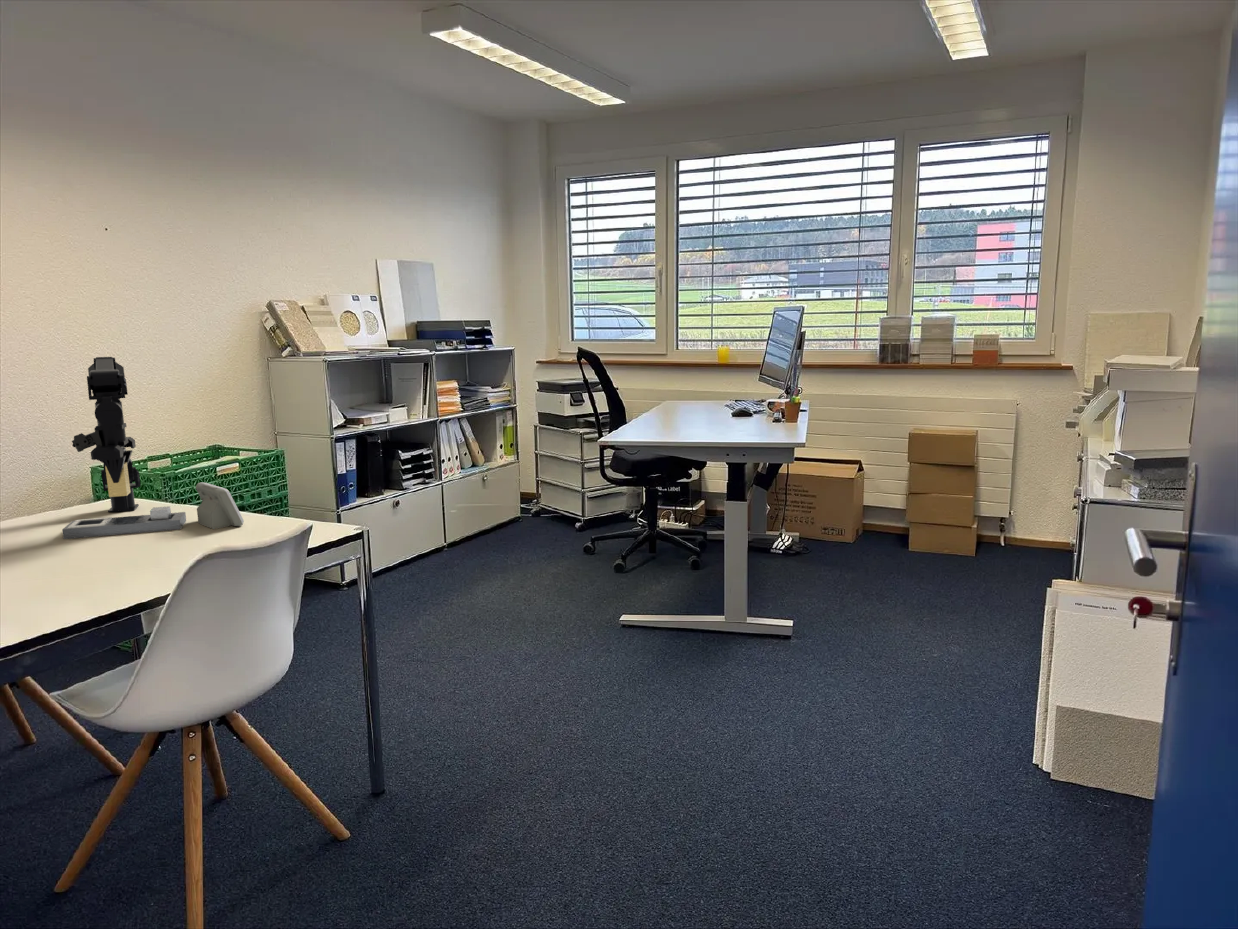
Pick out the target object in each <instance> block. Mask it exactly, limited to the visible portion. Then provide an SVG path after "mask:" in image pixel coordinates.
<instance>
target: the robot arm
mask: <svg viewBox="0 0 1238 929" xmlns="http://www.w3.org/2000/svg"><path fill="white" fill-rule="evenodd" d="M87 372H88V375H87V376H86V382H87V384H86V385H87V391H88V392H87V393H88V400H89V401H94V400H95V402H94V407H95V408H94V409H95V410H94V417H95V419H96V423H97V425H96V426H95V427H94V431H93V432H90V433H87V434H84V433H82V432H81V433H79V434H76V435H74V436H73V440H71V443H72V447H73V448H75V449H76V451H77V452H78V453H80V452H83V451H85V450H86V449H89V448H91V447H93V446H96V447H94V448H93V449H92V450H91V451H90V458H91V460H93V461H100V463H102V465H103V466H102V467H103V469H101V470H100V472H101V473H100V475H101V481H102V487H103V492H108V484H107V476H106V469H105V466H106V467H107V469H108V472H109V474H110V476H111V478H112V481H113V483H118V482H119V480H120V476H121V472H122V469H123V465H124V462H127V467H128V475H129V484H130V493H129V494H128V495H127V496H116V497H109V498H110V504H111V506H110V508H109V509H108V510H107V513H116V512H119V513H120V512H130V511H132V512H133V511H135V510H136V509H137V508H138V507H139V504H138V503H135V501H136V500H135V494H134V489H138V488H140V487H142V486H141V477H140V471H139V470H138V469H137V467H136V466H133V461H132V459H131V456H132V453H133V449H134V448H136V446H137V445H136V440H135V438H133V437H132V436H127V435H126V428H127V422H125V419H124V418H125V417H124V412H123V402H122V401H121V399H126V396H128V395H129V394H128V393H129V392H128V385H127V379H126V377H125V367H124V366H123V365H121V364H120V363H118V362H117V361H116V358H115V357H113V356H97V357H93V363H92V364H91V365H90V366H89V367H88V368H87ZM127 448H130V450H127ZM131 449H132V450H131Z"/></svg>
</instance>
